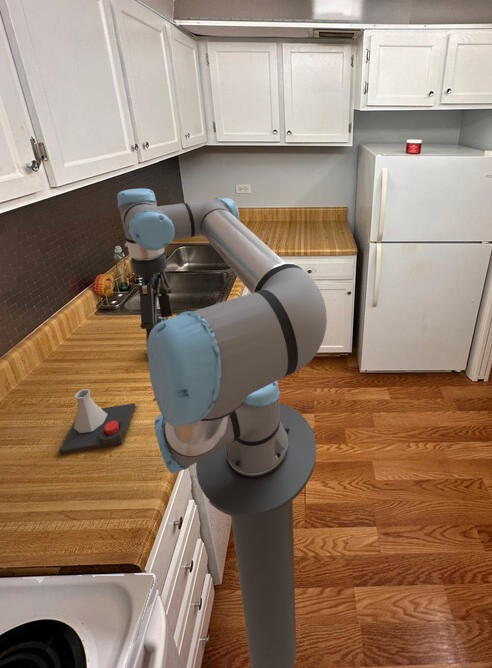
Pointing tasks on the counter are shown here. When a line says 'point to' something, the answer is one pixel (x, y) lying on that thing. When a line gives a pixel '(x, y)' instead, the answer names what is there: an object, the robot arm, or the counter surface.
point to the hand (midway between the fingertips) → (162, 330)
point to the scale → (100, 431)
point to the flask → (88, 413)
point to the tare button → (111, 427)
